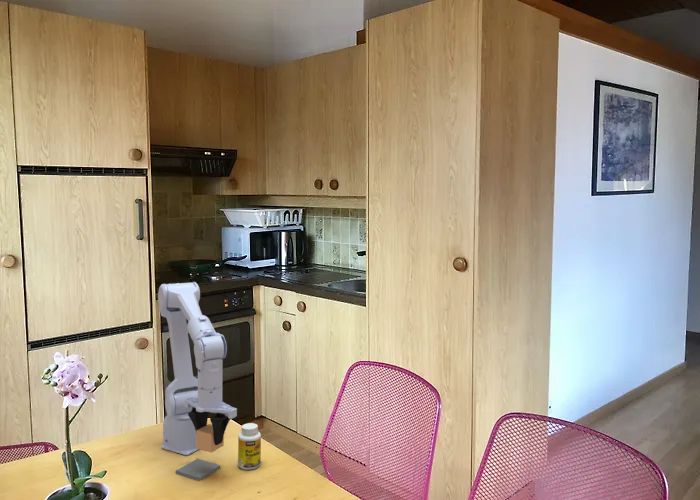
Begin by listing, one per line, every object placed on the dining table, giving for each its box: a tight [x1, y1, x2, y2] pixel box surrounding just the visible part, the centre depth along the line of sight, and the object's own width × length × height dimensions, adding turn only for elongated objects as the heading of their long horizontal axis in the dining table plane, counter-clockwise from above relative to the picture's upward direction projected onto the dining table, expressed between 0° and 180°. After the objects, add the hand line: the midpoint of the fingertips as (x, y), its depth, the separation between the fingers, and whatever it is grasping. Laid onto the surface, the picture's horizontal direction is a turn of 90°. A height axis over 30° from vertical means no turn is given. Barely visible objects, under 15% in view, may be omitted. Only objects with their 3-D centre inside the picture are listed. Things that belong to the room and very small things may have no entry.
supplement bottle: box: [237, 422, 262, 471], centre depth 143 cm, size 6×6×10 cm
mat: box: [175, 457, 222, 482], centre depth 140 cm, size 8×8×1 cm
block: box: [196, 423, 225, 454], centre depth 138 cm, size 4×4×4 cm
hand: (210, 441), depth 138 cm, fingers closed on block, 4 cm apart
